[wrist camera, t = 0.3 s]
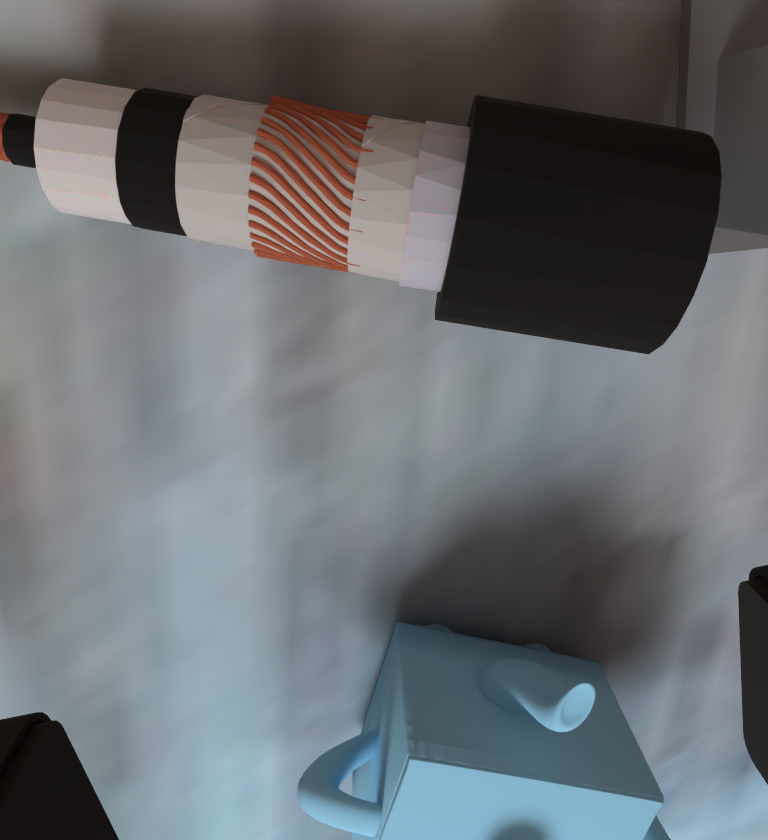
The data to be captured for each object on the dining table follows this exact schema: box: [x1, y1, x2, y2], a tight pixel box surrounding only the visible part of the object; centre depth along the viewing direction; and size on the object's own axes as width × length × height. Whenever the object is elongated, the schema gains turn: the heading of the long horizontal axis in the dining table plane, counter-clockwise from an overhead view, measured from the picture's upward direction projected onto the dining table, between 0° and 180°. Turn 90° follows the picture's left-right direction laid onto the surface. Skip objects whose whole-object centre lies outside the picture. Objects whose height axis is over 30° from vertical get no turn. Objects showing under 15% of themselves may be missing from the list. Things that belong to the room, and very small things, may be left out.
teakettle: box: [297, 622, 671, 840], centre depth 41 cm, size 19×19×15 cm
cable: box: [0, 78, 722, 354], centre depth 32 cm, size 10×34×10 cm, turn 81°
